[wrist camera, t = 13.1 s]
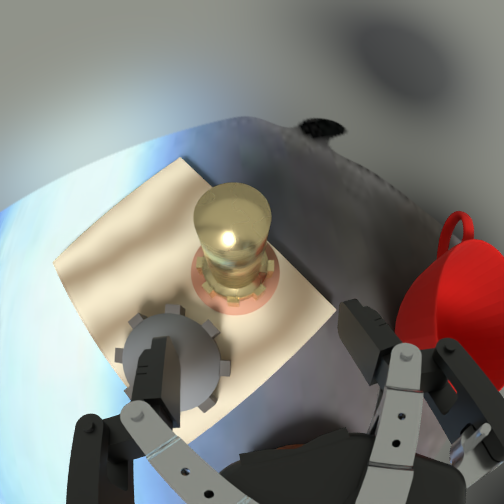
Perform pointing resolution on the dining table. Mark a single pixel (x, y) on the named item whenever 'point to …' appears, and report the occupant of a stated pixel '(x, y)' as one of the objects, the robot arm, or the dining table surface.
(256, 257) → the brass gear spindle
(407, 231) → the dining table surface
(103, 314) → the gear board
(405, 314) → the ceramic cup
